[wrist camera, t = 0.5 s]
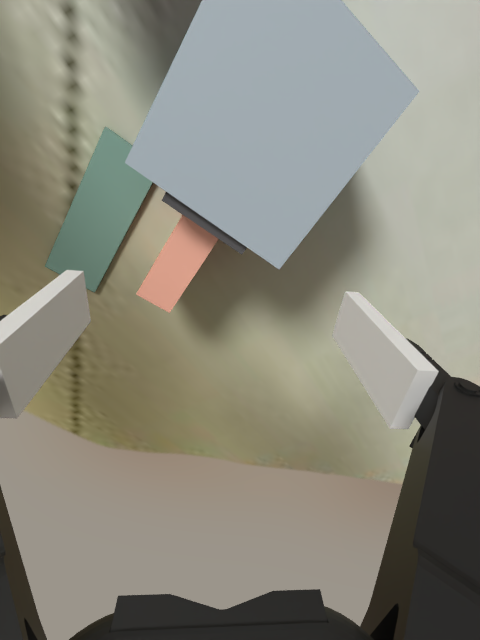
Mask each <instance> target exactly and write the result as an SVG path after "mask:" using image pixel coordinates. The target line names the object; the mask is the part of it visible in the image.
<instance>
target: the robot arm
mask: <svg viewBox="0 0 480 640" xmlns="http://www.w3.org/2000/svg"><path fill="white" fill-rule="evenodd" d="M90 322H91V319H90V312H89V305H88V298H87V291H86V284H85V277H84V271H75V270H66V271H65V272H63V273H62V274H61V275H59V276H58V277H57V278H56V279H54V280H53V281H52V282H50V283H49V284H48V285H46V286H45V287H44V288H43V289H41V290H40V291H39V292H37V293H36V294H35V295H33V296H32V297H31V298H30V299H28V300H27V301H26V302H24V303H23V304H22V305H20V306H19V307H18V308H17V309H15V310H14V311H13V312H11V313H10V314H9V315H2V316H0V418H18V417H19V415H20V414H21V413H22V411H23V410H24V409H25V407H26V406H27V405H28V403H29V402H30V401H31V400H32V398H33V397H34V396H35V394H36V393H37V392H38V390H39V389H40V388H41V386H42V385H43V384H44V382H45V381H46V380H47V378H48V377H49V376H50V374H51V373H52V372H53V371H54V369H55V368H56V367H57V365H58V364H59V363H60V361H61V360H62V359H63V357H64V356H65V355H66V353H67V352H68V351H69V349H70V348H71V347H72V345H73V344H74V343H75V342H76V340H77V339H78V338H79V336H80V335H81V334H82V332H83V331H84V330H85V328H86V327H87V326H88V324H89V323H90ZM332 337H333V338H334V340H335V342H336V343H337V345H338V346H339V348H340V350H341V351H342V353H343V354H344V356H345V358H346V359H347V361H348V362H349V364H350V366H351V367H352V369H353V370H354V372H355V374H356V375H357V377H358V379H359V380H360V382H361V383H362V385H363V387H364V388H365V390H366V391H367V393H368V395H369V396H370V398H371V399H372V401H373V403H374V404H375V406H376V408H377V409H378V411H379V412H380V414H381V416H382V417H383V419H384V420H385V422H386V424H387V425H388V427H389V428H390V429H409V427H410V425H411V423H412V421H413V420H414V418H416V419H417V420H418V422H419V423H420V424H421V426H420V428H419V430H418V431H417V433H416V435H415V437H414V439H413V441H412V442H411V444H410V446H409V447H411V448H413V449H412V452H411V456H410V460H409V463H408V467H407V471H406V474H405V478H404V482H403V485H402V489H401V493H400V496H399V500H398V504H397V507H396V511H395V515H394V518H393V522H392V525H391V529H390V533H389V536H388V540H387V544H386V547H385V551H384V555H383V558H382V562H381V566H380V570H379V573H378V577H377V580H376V584H375V587H374V591H373V595H372V598H371V602H370V605H369V607H368V610H367V612H366V615H365V617H364V619H363V622H362V624H361V626H360V627H359V626H358V625H357V624H356V623H354V622H353V621H352V620H350V619H348V618H347V617H345V616H344V615H342V614H341V613H338V612H336V611H334V610H332V609H330V608H328V607H325V606H324V604H323V600H322V596H321V592H320V589H319V590H287V591H272V592H269V593H267V594H264V595H262V596H259V597H256V598H254V599H251V600H249V601H247V602H244V603H241V604H239V605H236V606H234V607H231V608H229V609H225V610H219V609H216V608H212V607H209V606H206V605H203V604H200V603H197V602H193V601H190V600H187V599H184V598H181V597H178V596H174V595H171V594H161V595H131V596H130V595H128V596H118V599H117V603H116V608H115V612H114V613H113V614H110V615H108V616H105V617H103V618H101V619H99V620H97V621H95V622H94V623H92V624H90V625H88V626H87V627H86V628H84V629H83V630H81V631H80V632H78V633H77V634H75V635H74V636H73V637H72V638H70V639H69V640H480V387H479V386H478V385H476V384H474V383H472V382H470V381H468V380H465V379H462V378H456V377H451V376H450V375H449V374H448V373H447V372H446V371H445V370H444V369H442V368H441V367H440V366H439V365H438V364H437V363H436V362H435V361H434V360H432V358H431V357H430V356H429V355H428V354H426V352H425V351H424V350H423V349H422V348H421V347H420V346H419V345H417V344H415V343H414V342H412V341H411V340H409V339H407V338H405V337H404V336H403V335H402V334H401V333H400V332H399V331H397V330H396V329H395V328H394V327H393V326H392V325H391V324H390V323H389V322H388V321H387V320H386V319H385V318H384V317H383V316H382V315H381V314H380V313H379V312H378V311H377V310H376V309H375V308H374V307H373V306H372V305H371V304H370V303H369V302H368V301H367V300H366V299H365V298H364V297H363V296H362V295H361V294H360V293H359V292H349V291H345V293H344V296H343V300H342V303H341V307H340V310H339V313H338V317H337V320H336V324H335V327H334V330H333V334H332ZM0 640H47V638H46V636H45V633H44V630H43V627H42V625H41V622H40V619H39V616H38V613H37V610H36V606H35V603H34V599H33V596H32V593H31V589H30V586H29V582H28V579H27V576H26V572H25V568H24V565H23V562H22V559H21V555H20V551H19V548H18V545H17V541H16V538H15V534H14V531H13V527H12V524H11V521H10V517H9V514H8V510H7V507H6V503H5V500H4V497H3V493H2V490H1V486H0Z"/></svg>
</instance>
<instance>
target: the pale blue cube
mask: <svg viewBox="0 0 480 640" xmlns="http://www.w3.org/2000/svg"><path fill="white" fill-rule="evenodd" d="M418 92H419V90H418V89H417V88H416V87H415V86H414V84H413V83H412V82H411V81H410V80H409V79H408V77H407V76H406V75H405V74H404V73H403V72H402V70H401V69H400V68H399V67H398V66H397V65H396V63H395V62H394V61H393V60H392V59H391V58H390V56H389V55H388V54H387V53H386V52H385V51H384V49H383V48H382V47H381V46H380V45H379V44H378V42H377V41H376V40H375V39H374V38H373V37H372V35H371V34H370V33H369V32H368V31H367V30H366V28H365V27H364V26H363V25H362V24H361V23H360V21H359V20H358V19H357V18H356V17H355V16H354V14H353V13H352V12H351V11H350V10H349V8H348V7H347V6H346V5H345V4H344V3H343V1H342V0H202V1H201V4H200V6H199V8H198V10H197V12H196V14H195V16H194V18H193V20H192V22H191V25H190V27H189V29H188V31H187V33H186V35H185V37H184V39H183V41H182V43H181V46H180V48H179V50H178V52H177V54H176V56H175V58H174V60H173V62H172V64H171V67H170V69H169V71H168V73H167V75H166V77H165V79H164V81H163V83H162V85H161V87H160V90H159V92H158V94H157V96H156V98H155V100H154V102H153V104H152V106H151V108H150V111H149V113H148V115H147V117H146V119H145V121H144V123H143V125H142V127H141V129H140V132H139V134H138V136H137V138H136V140H135V142H134V144H133V146H132V148H131V150H130V153H129V155H128V157H127V159H126V161H125V163H126V164H127V165H129V166H130V167H132V168H133V169H134V170H136V171H137V172H139V173H140V174H142V175H143V176H145V177H146V178H147V179H149V180H150V181H152V182H153V183H155V184H156V185H158V186H159V187H160V188H162V189H163V190H165V191H166V193H165V195H164V197H163V199H162V201H163V202H165V203H166V204H168V205H169V206H171V207H172V208H174V209H175V210H177V211H178V212H180V213H181V214H183V215H184V216H186V217H187V218H188V219H190V220H191V221H193V222H194V223H196V224H197V225H199V226H200V227H202V228H203V229H205V230H206V231H208V232H209V233H211V234H212V235H214V236H215V237H217V238H218V239H219V240H221V241H222V242H224V243H225V244H227V245H228V246H230V247H231V248H233V249H234V250H236V251H237V252H239V253H240V254H243V252H244V251H245V250H246V248H249V249H250V250H252V251H253V252H254V253H256V254H257V255H259V256H260V257H262V258H263V259H265V260H266V261H267V262H269V263H270V264H272V265H273V266H275V267H276V268H278V269H280V268H281V267H282V265H283V264H284V263H285V262H286V260H287V259H288V258H289V256H290V255H291V254H292V253H293V251H294V250H295V249H296V248H297V246H298V245H299V244H300V242H301V241H302V240H303V239H304V237H305V236H306V235H307V234H308V232H309V231H310V230H311V228H312V227H313V226H314V225H315V223H316V222H317V221H318V220H319V218H320V217H321V216H322V214H323V213H324V212H325V211H326V209H327V208H328V207H329V206H330V204H331V203H332V202H333V200H334V199H335V198H336V197H337V195H338V194H339V193H340V192H341V190H342V189H343V188H344V187H345V185H346V184H347V183H348V181H349V180H350V179H351V178H352V176H353V175H354V174H355V173H356V171H357V170H358V169H359V167H360V166H361V165H362V164H363V162H364V161H365V160H366V159H367V157H368V156H369V155H370V153H371V152H372V151H373V150H374V148H375V147H376V146H377V145H378V143H379V142H380V141H381V139H382V138H383V137H384V136H385V134H386V133H387V132H388V131H389V129H390V128H391V127H392V125H393V124H394V123H395V122H396V120H397V119H398V118H399V117H400V115H401V114H402V113H403V112H404V110H405V109H406V108H407V106H408V105H409V104H410V103H411V101H412V100H413V99H414V98H415V96H416V95H417V94H418Z"/></svg>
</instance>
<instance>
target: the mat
mask: <svg viewBox="0 0 480 640" xmlns="http://www.w3.org/2000/svg"><path fill="white" fill-rule="evenodd" d="M131 148H132V145H131V144H130V143H128V142H127V141H125V140H124V139H123V138H121V137H120V136H118V135H117V134H116V133H114V132H113V131H112V130H110V129H109V128H107V127H105V128H104V130H103V132H102V135H101V137H100V139H99V142H98V144H97V146H96V149H95V151H94V153H93V156H92V158H91V160H90V163H89V165H88V167H87V170H86V172H85V174H84V177H83V179H82V181H81V184H80V186H79V188H78V190H77V193H76V195H75V197H74V200H73V202H72V204H71V207H70V209H69V211H68V214H67V216H66V218H65V221H64V223H63V225H62V228H61V230H60V232H59V235H58V237H57V239H56V242H55V244H54V246H53V249H52V251H51V253H50V256H49V258H48V260H47V262H46V265H45V267H47V268H49V269H51V270H53V271H54V272H56V273H58V274H60V275H61V274H62V273H63V272H65V271H66V270H75V271H84V277H85V284H86V288H87V289H89V290H91V291H93V292H95V291H96V290H97V288H98V286H99V284H100V282H101V280H102V279H103V277H104V275H105V273H106V271H107V269H108V267H109V265H110V263H111V261H112V260H113V258H114V256H115V254H116V252H117V250H118V248H119V246H120V244H121V243H122V241H123V239H124V237H125V235H126V233H127V231H128V229H129V227H130V225H131V224H132V222H133V220H134V218H135V216H136V214H137V212H138V210H139V208H140V206H141V205H142V203H143V201H144V199H145V197H146V195H147V193H148V191H149V189H150V187H151V186H152V184H153V182H152V181H150V180H149V179H147V178H146V177H145V176H143V175H142V174H140V173H139V172H137V171H136V170H134V169H133V168H132V167H130V166H129V165H127V164H126V163H125V161H126V159H127V157H128V155H129V153H130V150H131Z"/></svg>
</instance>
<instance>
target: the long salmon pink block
mask: <svg viewBox="0 0 480 640" xmlns="http://www.w3.org/2000/svg"><path fill="white" fill-rule="evenodd" d="M217 241H218V238H217V237H215V236H214V235H212V234H211V233H209V232H208V231H206V230H205V229H203V228H202V227H200V226H199V225H197V224H196V223H194V222H193V221H191V220H190V219H188V218H187V217H186V216H184V215H182V217H181V218H180V220H179V222H178V223H177V225H176V227H175V228H174V230H173V232H172V234H171V235H170V237H169V239H168V240H167V242H166V244H165V245H164V247H163V249H162V250H161V252H160V254H159V256H158V257H157V259H156V261H155V262H154V264H153V266H152V268H151V269H150V271H149V273H148V274H147V276H146V278H145V280H144V281H143V283H142V285H141V287H140V288H139V290H138V292H137V293H136V295H138V296H140V297H142V298H144V299H145V300H147V301H149V302H151V303H153V304H155V305H156V306H158V307H160V308H162V309H164V310H166V311H167V312H169V313H170V312H171V310H172V309H173V307H174V306H175V304H176V302H177V301H178V299H179V298H180V296H181V295H182V293H183V292H184V290H185V289H186V287H187V286H188V284H189V283H190V281H191V280H192V278H193V277H194V275H195V274H196V272H197V271H198V269H199V268H200V266H201V265H202V263H203V262H204V260H205V259H206V257H207V256H208V254H209V253H210V251H211V250H212V248H213V247H214V245H215V244H216V242H217Z"/></svg>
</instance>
